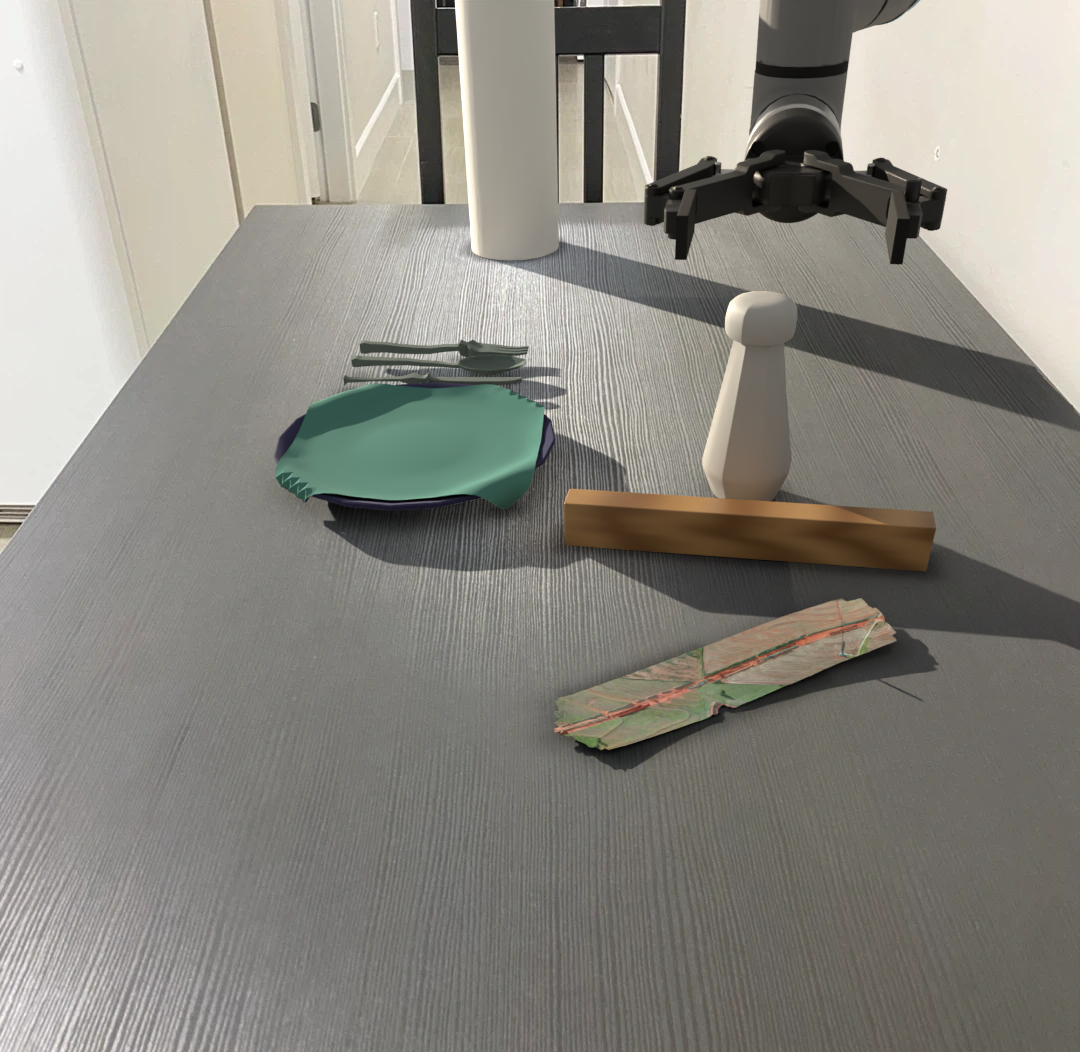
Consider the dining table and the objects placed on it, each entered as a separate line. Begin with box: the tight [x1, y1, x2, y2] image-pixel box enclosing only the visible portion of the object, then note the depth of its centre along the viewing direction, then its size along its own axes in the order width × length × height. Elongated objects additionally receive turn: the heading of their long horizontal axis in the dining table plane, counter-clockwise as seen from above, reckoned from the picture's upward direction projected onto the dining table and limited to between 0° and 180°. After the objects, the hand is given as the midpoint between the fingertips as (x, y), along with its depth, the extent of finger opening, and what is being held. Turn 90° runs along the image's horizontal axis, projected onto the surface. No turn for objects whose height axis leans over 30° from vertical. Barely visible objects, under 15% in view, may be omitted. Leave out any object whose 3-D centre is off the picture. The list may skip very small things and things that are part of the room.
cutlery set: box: [273, 339, 556, 512], centre depth 81 cm, size 20×30×2 cm, turn 176°
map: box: [552, 597, 898, 751], centre depth 58 cm, size 5×20×1 cm, turn 117°
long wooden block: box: [563, 488, 937, 572], centre depth 67 cm, size 22×2×3 cm, turn 79°
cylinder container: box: [454, 0, 560, 261], centre depth 108 cm, size 9×9×30 cm
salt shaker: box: [701, 290, 799, 501], centre depth 69 cm, size 6×6×13 cm
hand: (788, 240), depth 69 cm, fingers open, 13 cm apart
